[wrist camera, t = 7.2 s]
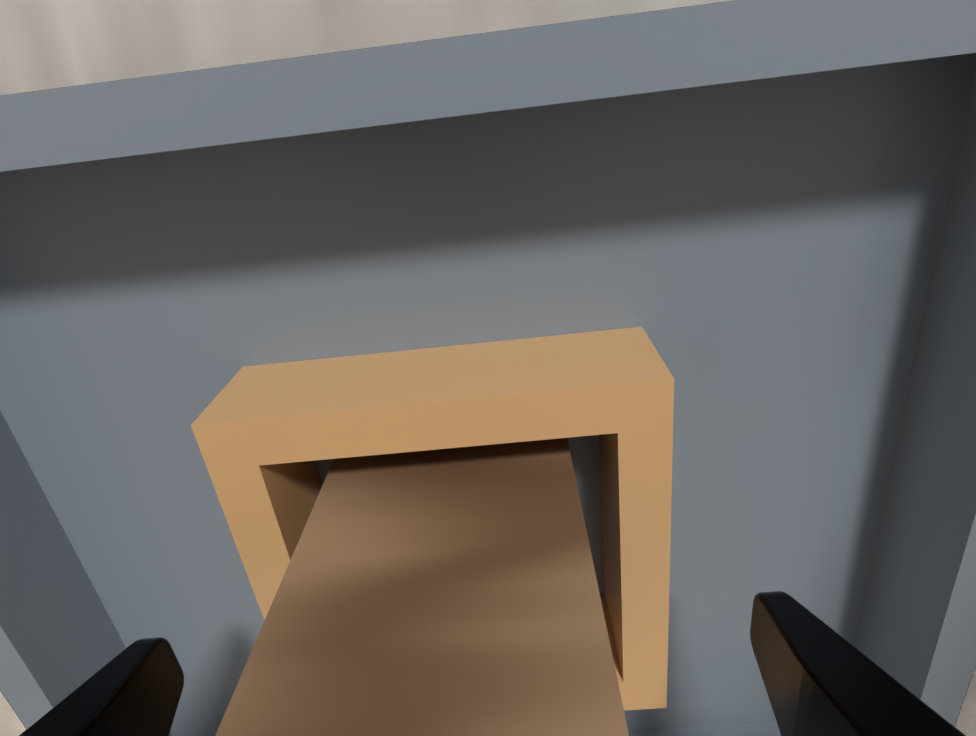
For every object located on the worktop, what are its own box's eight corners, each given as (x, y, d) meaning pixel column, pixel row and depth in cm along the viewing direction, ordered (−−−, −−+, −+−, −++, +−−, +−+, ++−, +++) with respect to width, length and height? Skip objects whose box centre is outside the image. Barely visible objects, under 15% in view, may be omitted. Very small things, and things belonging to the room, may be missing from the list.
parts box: (1001, -19, 9) (1226, -64, 6) (846, 698, 16) (920, 827, 13) (-136, 128, 10) (-377, 144, 7) (183, 741, 17) (122, 868, 14)
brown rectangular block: (561, 410, 11) (655, 865, 5) (572, 575, 13) (652, 1073, 6) (345, 429, 11) (149, 890, 5) (385, 590, 13) (279, 1084, 6)
